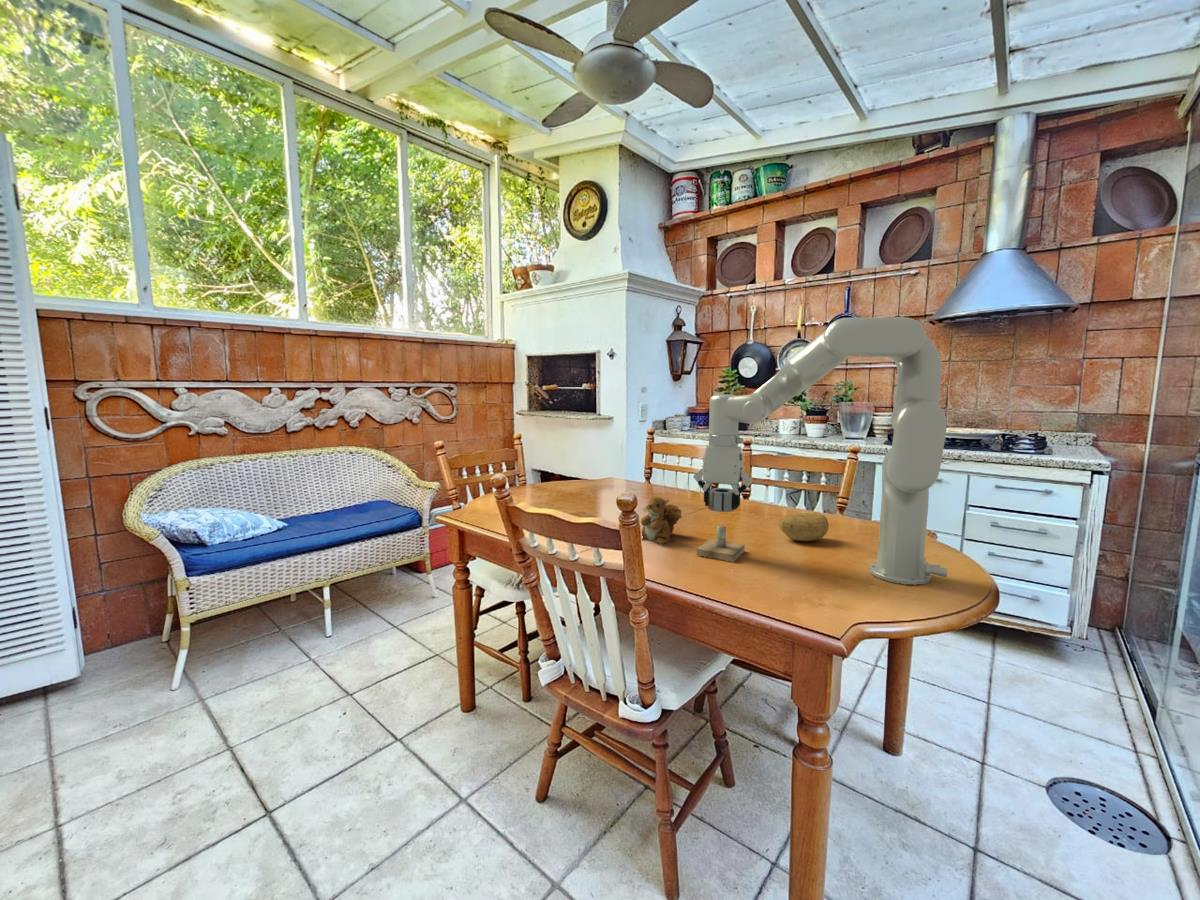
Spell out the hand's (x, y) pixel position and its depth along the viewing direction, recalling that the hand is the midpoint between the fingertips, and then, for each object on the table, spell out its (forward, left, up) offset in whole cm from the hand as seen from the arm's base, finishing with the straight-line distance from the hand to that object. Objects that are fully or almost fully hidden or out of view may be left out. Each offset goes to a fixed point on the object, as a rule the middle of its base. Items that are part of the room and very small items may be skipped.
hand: (721, 506), depth 138 cm
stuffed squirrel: (+21, -5, -14) cm, 25 cm away
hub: (0, 0, -1) cm, 1 cm away
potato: (-17, -23, -14) cm, 32 cm away
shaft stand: (0, 0, -13) cm, 13 cm away
